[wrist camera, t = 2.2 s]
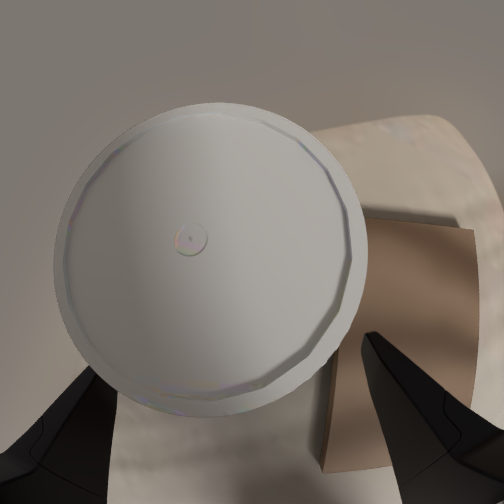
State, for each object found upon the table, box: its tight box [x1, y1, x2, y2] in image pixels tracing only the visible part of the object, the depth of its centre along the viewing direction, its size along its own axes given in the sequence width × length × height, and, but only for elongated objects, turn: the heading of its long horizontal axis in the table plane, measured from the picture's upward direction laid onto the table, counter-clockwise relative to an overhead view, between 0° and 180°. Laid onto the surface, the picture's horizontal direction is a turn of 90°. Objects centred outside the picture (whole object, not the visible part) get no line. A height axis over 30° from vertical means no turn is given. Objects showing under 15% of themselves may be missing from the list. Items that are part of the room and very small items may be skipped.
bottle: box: [53, 103, 368, 417], centre depth 12 cm, size 7×7×15 cm
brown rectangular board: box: [319, 218, 479, 473], centre depth 17 cm, size 18×12×2 cm, turn 176°
